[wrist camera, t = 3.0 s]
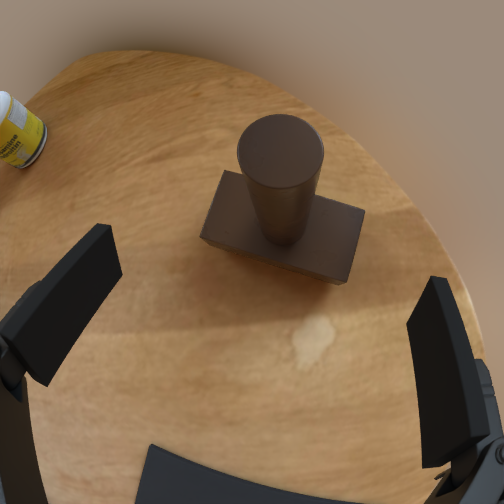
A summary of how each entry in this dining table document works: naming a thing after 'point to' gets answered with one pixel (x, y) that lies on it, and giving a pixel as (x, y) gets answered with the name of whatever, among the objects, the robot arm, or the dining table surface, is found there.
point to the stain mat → (206, 485)
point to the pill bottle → (19, 133)
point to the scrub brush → (283, 204)
